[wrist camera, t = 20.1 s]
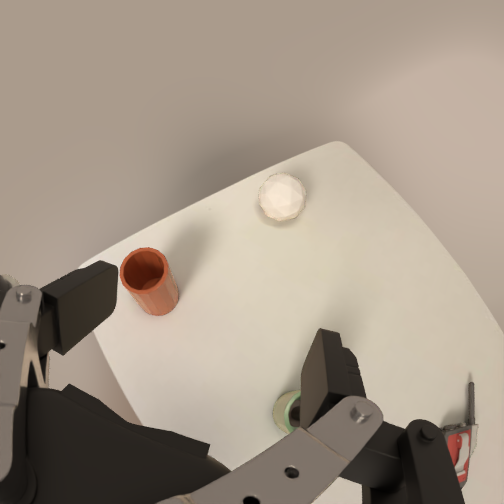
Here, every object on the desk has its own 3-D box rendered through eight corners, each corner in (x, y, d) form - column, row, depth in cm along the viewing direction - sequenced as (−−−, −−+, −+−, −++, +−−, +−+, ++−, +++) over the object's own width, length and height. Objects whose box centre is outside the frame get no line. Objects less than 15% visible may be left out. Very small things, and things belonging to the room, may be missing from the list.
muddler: (285, 429, 34) (319, 444, 20) (280, 403, 36) (311, 403, 22) (312, 422, 35) (361, 430, 21) (307, 396, 37) (352, 391, 23)
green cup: (286, 442, 34) (302, 451, 26) (264, 405, 36) (273, 406, 28) (325, 418, 36) (349, 420, 28) (303, 382, 38) (322, 377, 30)
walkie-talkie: (464, 484, 28) (470, 382, 38) (480, 486, 25) (486, 378, 34) (427, 498, 28) (435, 388, 38) (443, 503, 24) (452, 385, 34)
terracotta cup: (147, 322, 41) (129, 302, 33) (133, 286, 43) (114, 259, 35) (185, 304, 42) (175, 280, 34) (169, 270, 45) (157, 240, 37)
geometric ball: (277, 229, 53) (271, 230, 45) (254, 190, 53) (244, 185, 45) (315, 207, 51) (315, 204, 43) (291, 168, 51) (287, 159, 44)
